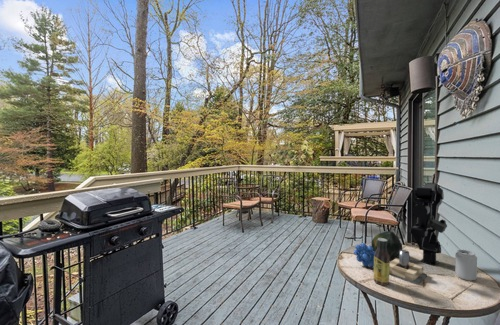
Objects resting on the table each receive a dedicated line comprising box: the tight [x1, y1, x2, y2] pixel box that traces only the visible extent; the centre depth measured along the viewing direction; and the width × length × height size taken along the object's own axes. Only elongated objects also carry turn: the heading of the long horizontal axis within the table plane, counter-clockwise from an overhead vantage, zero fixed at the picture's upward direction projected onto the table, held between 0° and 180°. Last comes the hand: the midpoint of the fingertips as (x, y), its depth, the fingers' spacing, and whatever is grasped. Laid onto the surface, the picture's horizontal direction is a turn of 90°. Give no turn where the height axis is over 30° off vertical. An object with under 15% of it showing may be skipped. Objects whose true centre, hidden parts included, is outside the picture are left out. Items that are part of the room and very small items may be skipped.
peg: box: [398, 249, 410, 270], centre depth 118 cm, size 4×4×10 cm
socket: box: [389, 257, 428, 286], centre depth 119 cm, size 12×15×4 cm
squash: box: [370, 230, 403, 259], centre depth 140 cm, size 14×15×15 cm
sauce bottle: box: [372, 238, 391, 286], centre depth 111 cm, size 6×6×20 cm
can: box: [454, 249, 478, 282], centre depth 114 cm, size 8×8×12 cm
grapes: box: [353, 242, 375, 268], centre depth 126 cm, size 12×7×12 cm, turn 59°
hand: (424, 245), depth 120 cm, fingers open, 9 cm apart
